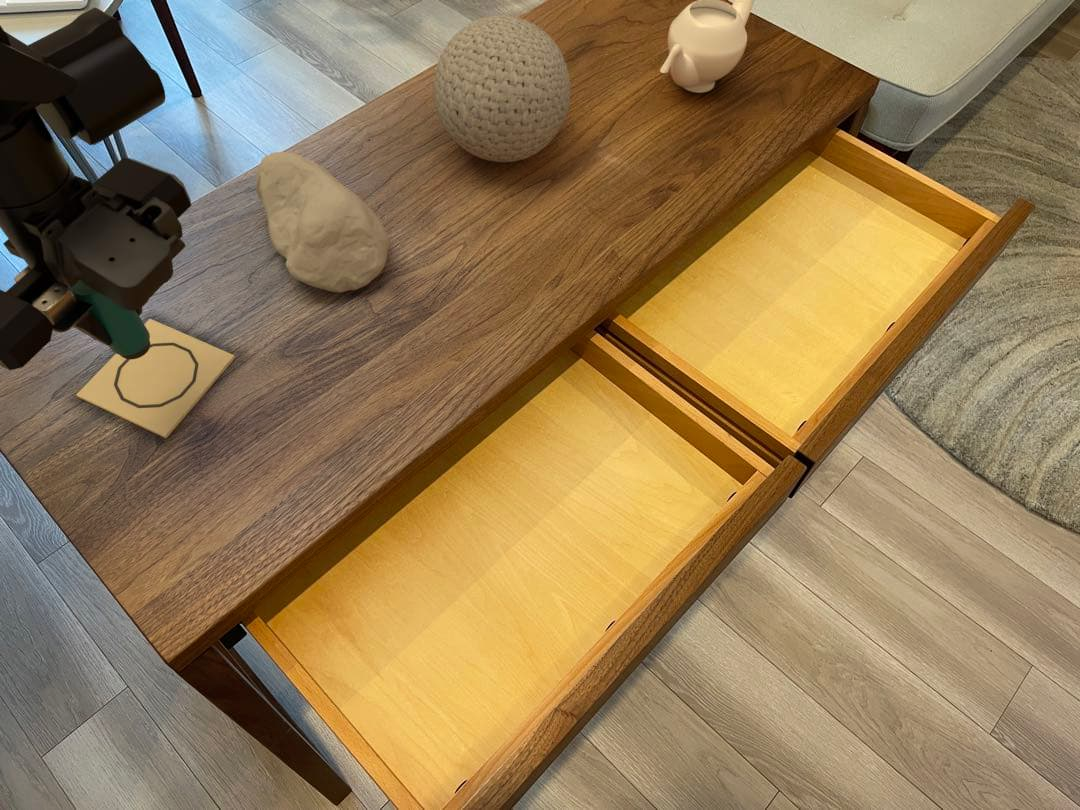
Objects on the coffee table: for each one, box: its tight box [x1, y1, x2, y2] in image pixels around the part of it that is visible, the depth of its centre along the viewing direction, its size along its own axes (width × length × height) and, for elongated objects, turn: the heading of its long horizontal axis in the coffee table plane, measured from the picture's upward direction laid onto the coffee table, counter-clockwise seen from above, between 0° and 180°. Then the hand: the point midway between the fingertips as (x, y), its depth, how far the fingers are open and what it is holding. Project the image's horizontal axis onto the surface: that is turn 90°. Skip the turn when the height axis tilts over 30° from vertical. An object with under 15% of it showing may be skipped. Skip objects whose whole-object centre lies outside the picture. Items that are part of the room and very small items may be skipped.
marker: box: [68, 280, 150, 359], centre depth 63 cm, size 3×3×8 cm
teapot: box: [659, 0, 755, 94], centre depth 97 cm, size 10×20×9 cm, turn 140°
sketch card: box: [76, 318, 236, 439], centre depth 73 cm, size 10×10×1 cm
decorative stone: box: [255, 151, 391, 294], centre depth 80 cm, size 17×10×10 cm
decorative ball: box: [433, 14, 572, 163], centre depth 86 cm, size 15×15×15 cm
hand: (121, 328), depth 64 cm, fingers closed on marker, 3 cm apart
